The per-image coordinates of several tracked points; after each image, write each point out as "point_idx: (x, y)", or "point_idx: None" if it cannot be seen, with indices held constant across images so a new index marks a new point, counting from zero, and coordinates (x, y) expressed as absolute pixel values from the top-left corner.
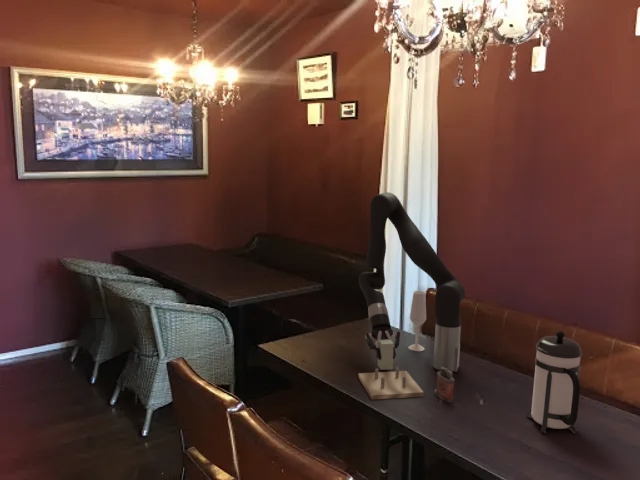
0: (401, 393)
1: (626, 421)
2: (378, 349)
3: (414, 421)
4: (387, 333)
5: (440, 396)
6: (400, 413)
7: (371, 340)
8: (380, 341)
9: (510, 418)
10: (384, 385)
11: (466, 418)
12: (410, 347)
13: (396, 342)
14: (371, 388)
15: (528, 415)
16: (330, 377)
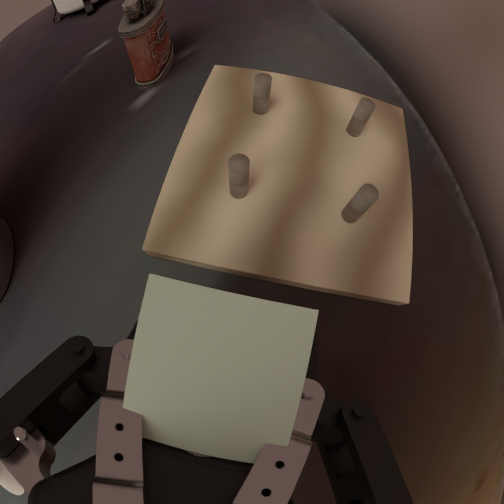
0: (298, 78)
1: (18, 28)
2: None
3: (316, 22)
4: (117, 495)
5: (170, 59)
6: (335, 45)
7: (367, 464)
8: (286, 407)
9: (119, 9)
10: (338, 143)
11: (194, 7)
12: (16, 482)
13: (74, 366)
14: (395, 144)
15: (88, 14)
16: (481, 332)
